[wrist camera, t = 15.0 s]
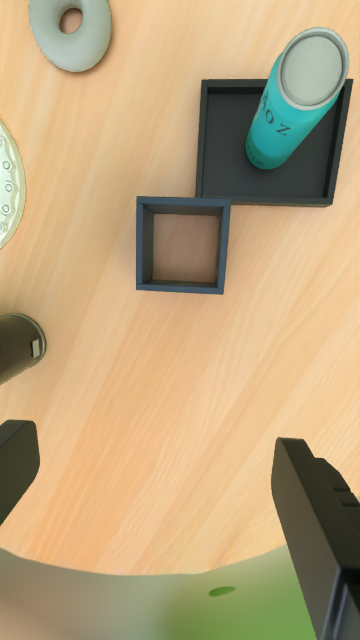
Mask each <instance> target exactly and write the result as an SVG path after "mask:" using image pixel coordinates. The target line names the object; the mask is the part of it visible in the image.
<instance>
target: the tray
mask: <svg viewBox="0 0 360 640" xmlns="http://www.w3.org/2000/svg"><path fill="white" fill-rule="evenodd" d="M267 81H268V79H209V80H202V83H201V102H200V121H199V139H198V158H197V177H196V195H195V198H216V199H231V204H232V205H265V206H298V207H327V206H330V205H332V204H333V198H334V192H335V186H336V180H337V174H338V168H339V162H340V156H341V150H342V144H343V138H344V132H345V126H346V120H347V114H348V108H349V102H350V96H351V90H352V84H353V79H345V82H344V84H343V86H342V88H341V90H340V93H339V95H338V97H337V99H336V101H335V102H334V104H333V105H332V107H331V108H330V109H329V110H328V111H327V113H326V114H325V115H324V116H323V117H322V118H321V120H320V121H319V122H318V123H317V124H316V125H315V127H314V128H313V129H312V130H311V131H310V133H309V134H308V135H307V136H306V137H305V138H304V140H303V141H302V142H301V143H300V144H299V145H298V147H297V148H296V149H295V150H294V151H293V152H292V154H291V155H290V156H289V157H288V158H287V159H286V161H285V162H284V163H283V164H281V165H280V166H278V167H276V168H273V169H268V170H266V169H260V168H258V167H256V166H254V165H253V164H252V163H251V161H250V160H249V158H248V156H247V153H246V139H247V136H248V133H249V130H250V127H251V125H252V122H253V119H254V117H255V114H256V111H257V108H258V106H259V103H260V100H261V98H262V95H263V92H264V89H265V87H266V84H267Z"/></svg>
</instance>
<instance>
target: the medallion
mask: <svg viewBox="0 0 360 640" xmlns="http://www.w3.org/2000/svg"><path fill="white" fill-rule="evenodd" d="M25 197H26V183H25V173H24V169H23V164H22V160H21V157H20V154H19V152H18V149H17V147H16V144H15V142H14V140H13V138H12V137H11V135H10V133H9V132H8V130H7V128H6V127H5V126H4V124H3V123H2V122H1V121H0V249H1V248H2V247H3V246H4V245H5V244H6V243H7V242H8V241H9V240H10V238H11V237H12V236H13V234H14V233H15V231H16V230H17V227H18V225H19V223H20V220H21V218H22V214H23V210H24V206H25Z"/></svg>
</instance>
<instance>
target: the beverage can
mask: <svg viewBox="0 0 360 640" xmlns="http://www.w3.org/2000/svg"><path fill="white" fill-rule="evenodd" d="M348 69H349V54H348V50H347V47H346V44H345V42H344V41H343V39H342V38H341V37H340V36H339V35H338V34H337V33H336V32H334V31H333V30H331V29H328V28H324V27H314V28H310V29H307V30H305V31H303V32H301V33H299V34H298V35H296V36H295V37H294V38H293V39H292V40H291V41H290V42H289V44H288V45H287V46H286V48H285V49H284V51H283V52H282V53H281V54H280V56H279V57H278V58H277V60H276V62H275V63H274V66H273V68H272V70H271V73H270V76H269V78H268V81H267V84H266V87H265V89H264V92H263V95H262V98H261V100H260V103H259V106H258V108H257V111H256V114H255V117H254V119H253V122H252V125H251V127H250V130H249V133H248V136H247V139H246V153H247V156H248V158H249V160H250V161H251V163H252V164H253V165H254V166H256V167H258V168H260V169H266V170H268V169H273V168H276V167H278V166H280V165H281V164H283V163H284V162H285V161H286V159H287V158H288V157H289V156H290V155H291V154H292V152H293V151H294V150H295V149H296V148H297V147H298V145H299V144H300V143H301V142H302V141H303V140H304V138H305V137H306V136H307V135H308V134H309V133H310V131H311V130H312V129H313V128H314V127H315V125H316V124H317V123H318V122H319V121H320V120H321V118H322V117H323V116H324V115H325V114H326V113H327V111H328V110H329V109H330V108H331V107H332V105H333V104H334V102H335V101H336V99H337V97H338V95H339V93H340V90H341V88H342V86H343V84H344V82H345V79H346V77H347V73H348Z"/></svg>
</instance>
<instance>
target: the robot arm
mask: <svg viewBox="0 0 360 640" xmlns="http://www.w3.org/2000/svg"><path fill="white" fill-rule="evenodd" d="M45 349H46V341H45V337H44V334H43V332H42V330H41V328H40V327H39V326H38V324H37V323H36V322H34V321H33V320H32V319H30V318H29V317H27V316H25V315H22V314H7V315H4V316H1V317H0V385H2V384H4V383H5V382H7V381H8V380H10V379H12V378H13V377H15V376H16V375H18V374H20V373H21V372H23V371H24V370H26V369H28V368H29V367H32V366H34V365H35V364H37V363H38V362H39V361H40V360H41V359H42V357H43V356H44V353H45ZM39 465H40V455H39V447H38V438H37V430H36V425H35V423H34V422H33V421H26V420H7V421H5V422H4V423H3V424H2V425H1V426H0V526H1V524H2V523H3V522H4V520H5V519H6V518H7V516H8V515H9V513H10V512H11V511H12V509H13V508H14V507H15V505H16V504H17V503H18V501H19V500H20V499H21V497H22V496H23V494H24V493H25V492H26V490H27V489H28V488H29V486H30V485H31V484H32V482H33V481H34V479H35V477H36V475H37V473H38V470H39ZM271 489H272V496H273V500H274V503H275V507H276V510H277V513H278V516H279V519H280V523H281V526H282V529H283V532H284V535H285V539H286V542H287V545H288V548H289V551H290V555H291V558H292V561H293V564H294V568H295V571H296V574H297V577H298V580H299V583H300V587H301V590H302V593H303V596H304V600H305V603H306V606H307V609H308V612H309V615H310V619H311V622H312V625H313V628H314V632H315V634H316V638H317V640H360V503H359V501H358V500H357V498H356V497H355V495H354V494H353V493H351V491H350V488H349V486H348V485H347V483H346V482H345V480H344V479H343V477H342V476H341V474H340V473H339V472H338V471H337V470H336V469H335V468H334V467H333V466H331V465H330V464H329V463H328V462H327V461H326V460H325V459H324V458H315V457H314V456H313V454H312V452H311V450H310V449H309V447H308V445H307V444H306V442H305V441H304V440H303V439H296V438H280V437H278V438H277V440H276V444H275V451H274V459H273V467H272V475H271Z"/></svg>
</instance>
